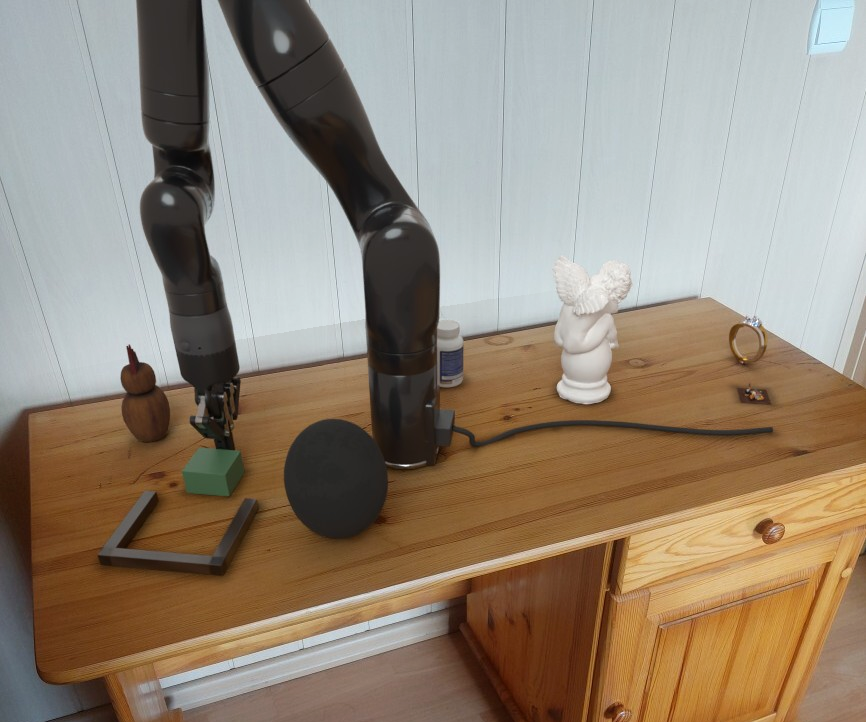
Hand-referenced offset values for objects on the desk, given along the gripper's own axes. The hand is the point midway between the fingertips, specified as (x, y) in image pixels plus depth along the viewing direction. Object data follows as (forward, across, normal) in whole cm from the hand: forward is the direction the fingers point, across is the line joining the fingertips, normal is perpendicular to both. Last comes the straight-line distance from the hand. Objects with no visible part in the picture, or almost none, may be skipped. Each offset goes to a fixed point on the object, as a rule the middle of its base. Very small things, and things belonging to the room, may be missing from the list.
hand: (227, 456), depth 114 cm
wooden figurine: (+1, +6, +14) cm, 15 cm away
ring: (+2, +43, -76) cm, 87 cm away
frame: (+1, -16, 0) cm, 16 cm away
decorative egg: (+1, -13, -20) cm, 24 cm away
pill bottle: (+2, +29, -27) cm, 40 cm away
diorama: (+2, +31, -76) cm, 82 cm away
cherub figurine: (+2, +27, -49) cm, 56 cm away
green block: (+1, -5, 0) cm, 5 cm away
